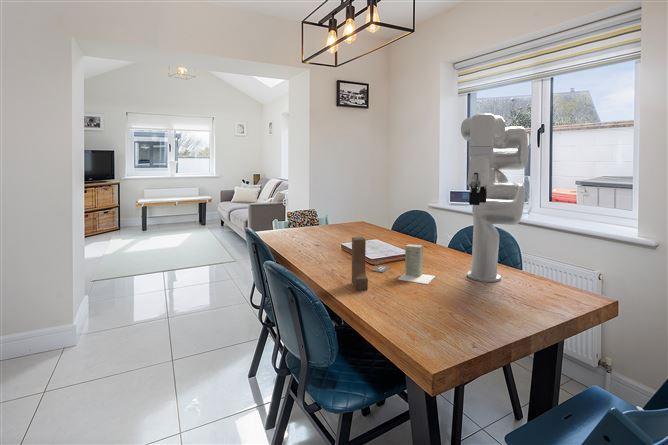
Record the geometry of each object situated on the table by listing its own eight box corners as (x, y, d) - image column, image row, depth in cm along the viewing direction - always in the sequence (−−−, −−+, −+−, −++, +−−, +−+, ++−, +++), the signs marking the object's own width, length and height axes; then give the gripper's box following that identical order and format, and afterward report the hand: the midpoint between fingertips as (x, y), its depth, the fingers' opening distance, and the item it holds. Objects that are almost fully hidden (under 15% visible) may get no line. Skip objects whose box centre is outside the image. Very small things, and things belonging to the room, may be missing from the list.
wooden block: (367, 290, 130) (368, 241, 127) (355, 291, 130) (355, 242, 127) (363, 282, 139) (363, 236, 136) (351, 283, 139) (351, 237, 136)
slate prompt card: (379, 266, 161) (379, 265, 161) (390, 268, 158) (390, 267, 158) (372, 271, 154) (372, 270, 154) (382, 272, 151) (382, 271, 151)
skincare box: (422, 274, 148) (424, 245, 146) (419, 277, 144) (420, 247, 142) (407, 272, 151) (408, 243, 149) (404, 274, 148) (405, 245, 146)
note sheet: (406, 272, 152) (406, 271, 152) (435, 276, 146) (435, 276, 146) (397, 279, 142) (397, 278, 142) (427, 284, 136) (427, 283, 136)
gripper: (475, 153, 129) (472, 201, 132) (462, 152, 115) (459, 205, 118) (498, 153, 125) (494, 202, 128) (487, 151, 111) (483, 206, 114)
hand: (477, 203), depth 123 cm, fingers open, 9 cm apart
